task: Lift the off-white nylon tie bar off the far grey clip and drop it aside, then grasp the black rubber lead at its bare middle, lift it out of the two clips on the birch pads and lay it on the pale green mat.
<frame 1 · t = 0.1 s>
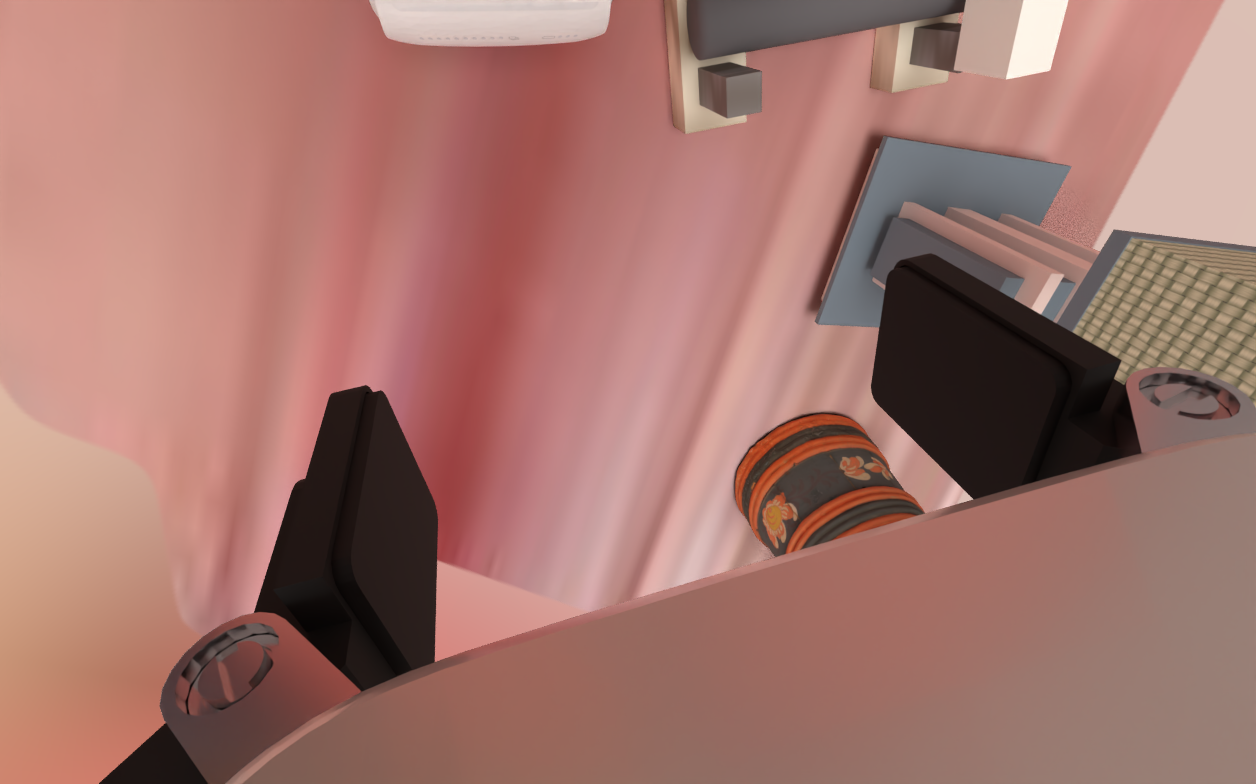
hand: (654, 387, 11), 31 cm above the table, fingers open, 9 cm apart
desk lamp: (919, 235, 48), on the table
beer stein: (793, 484, 62), on the table
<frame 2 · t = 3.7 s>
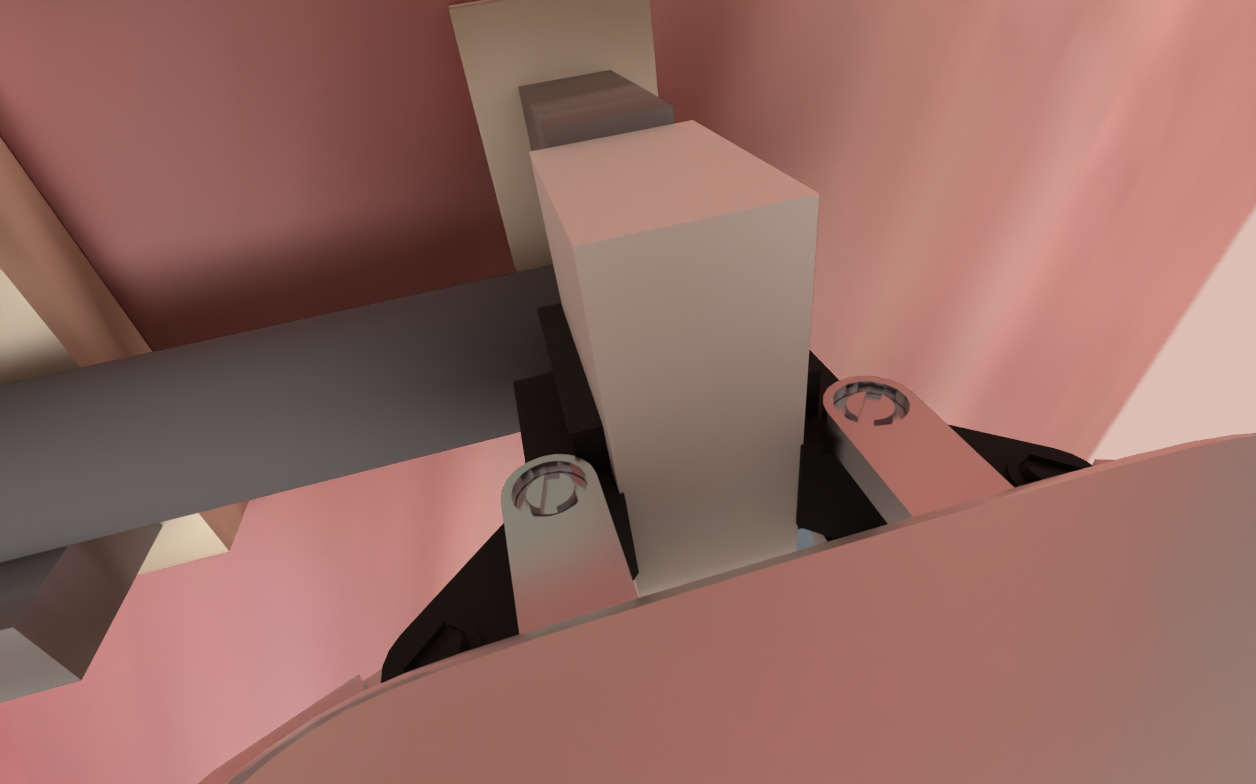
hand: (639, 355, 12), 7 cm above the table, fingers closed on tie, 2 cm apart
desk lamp: (725, 577, 29), on the table
clamp board: (332, 292, 16), on the table
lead: (315, 338, 14), point 3 cm above the table, tilted 22°, touching clamp board
tie: (642, 366, 12), point 7 cm above the table, touching clamp board, gripper
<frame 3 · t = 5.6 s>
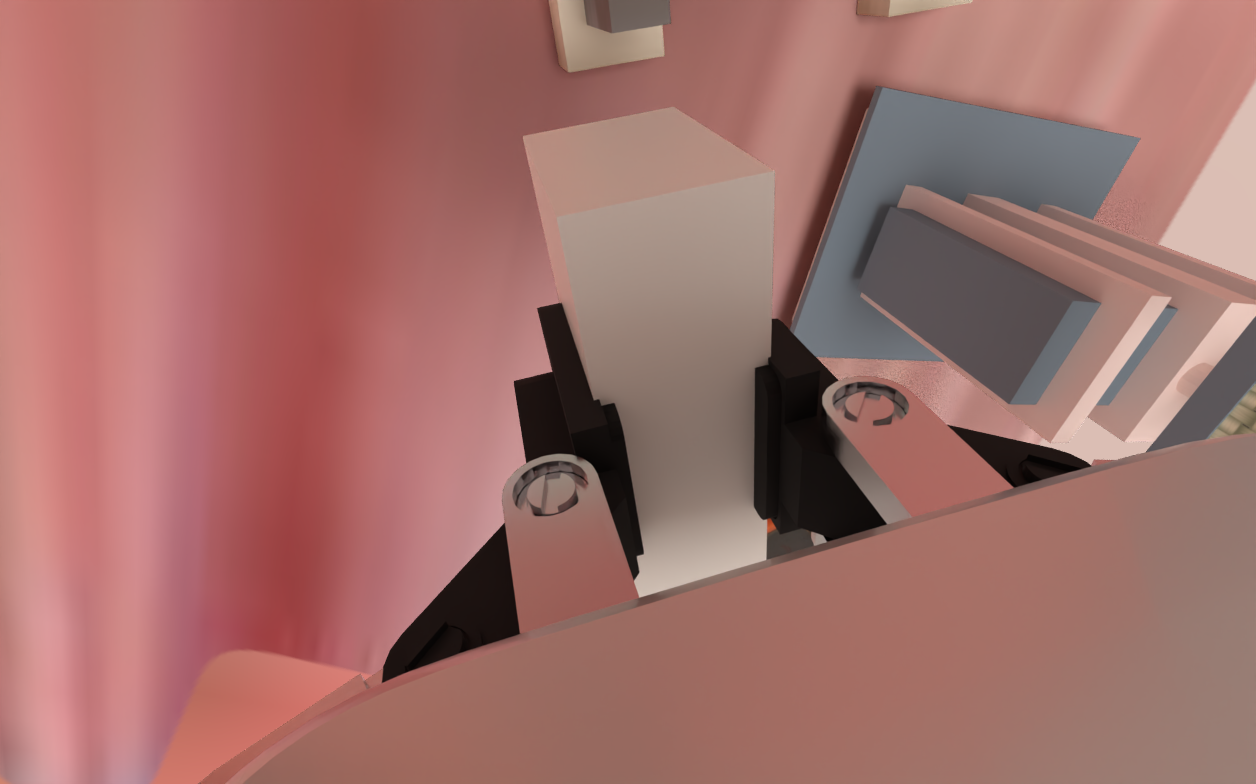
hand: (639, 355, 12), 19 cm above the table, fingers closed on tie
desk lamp: (925, 234, 35), on the table
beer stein: (762, 549, 49), on the table
tie: (630, 338, 13), point 18 cm above the table, touching gripper
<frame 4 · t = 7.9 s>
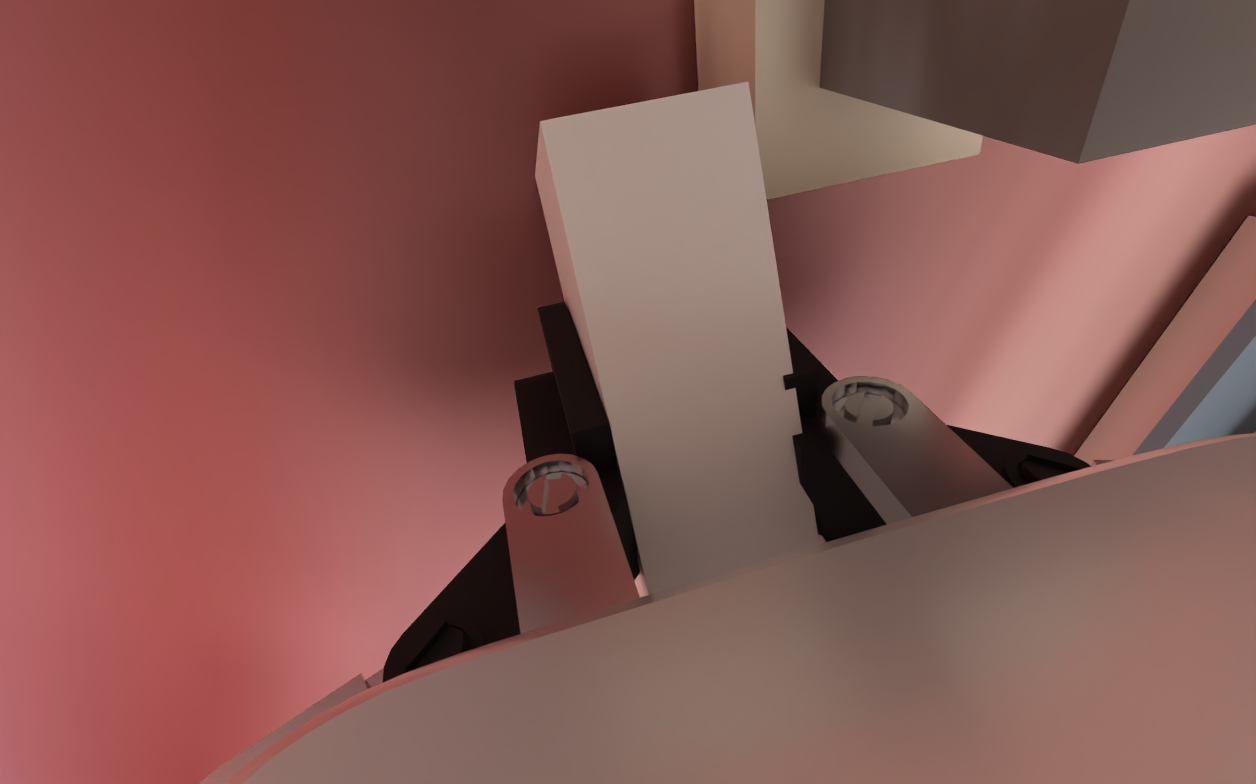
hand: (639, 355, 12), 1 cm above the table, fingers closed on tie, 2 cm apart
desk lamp: (1251, 399, 21), on the table
tie: (650, 384, 12), point 2 cm above the table, tilted 23°, touching gripper
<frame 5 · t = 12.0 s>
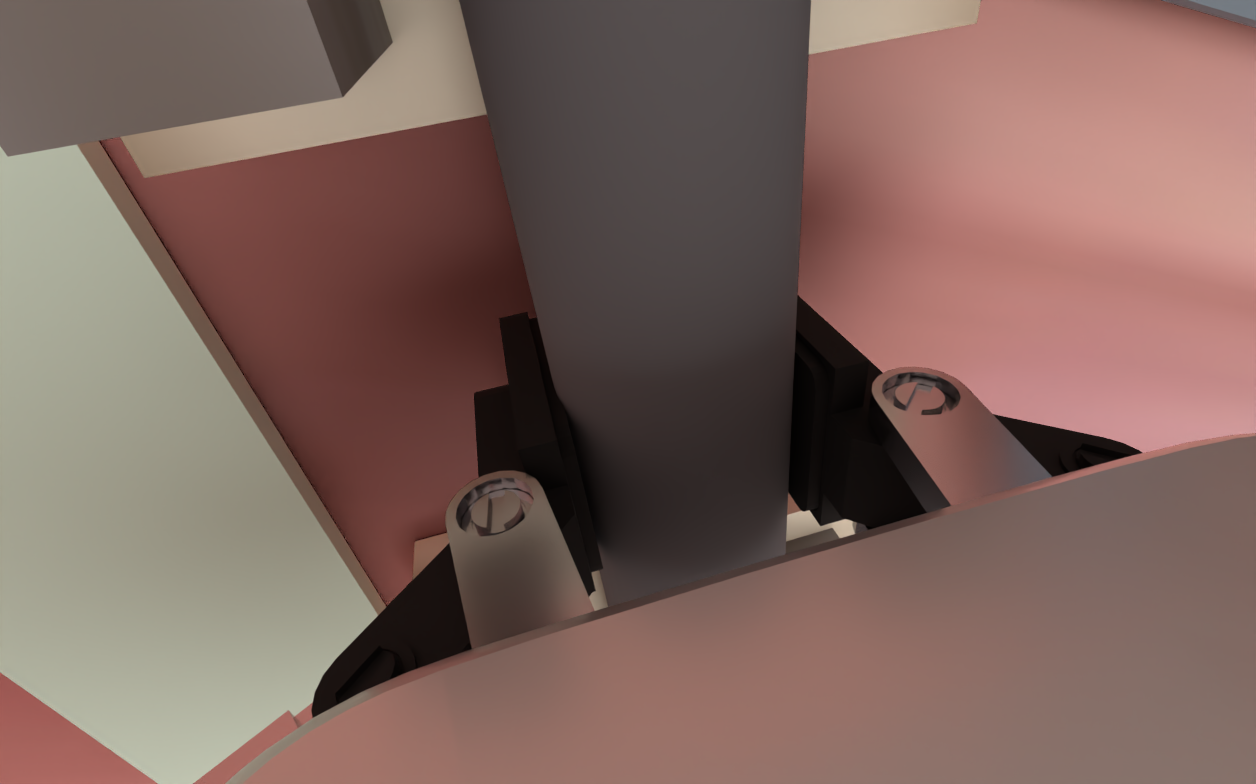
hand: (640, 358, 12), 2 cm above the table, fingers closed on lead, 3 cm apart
clamp board: (609, 321, 13), on the table
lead: (638, 381, 11), point 3 cm above the table, tilted 7°, touching clamp board, gripper
mat: (191, 602, 15), on the table
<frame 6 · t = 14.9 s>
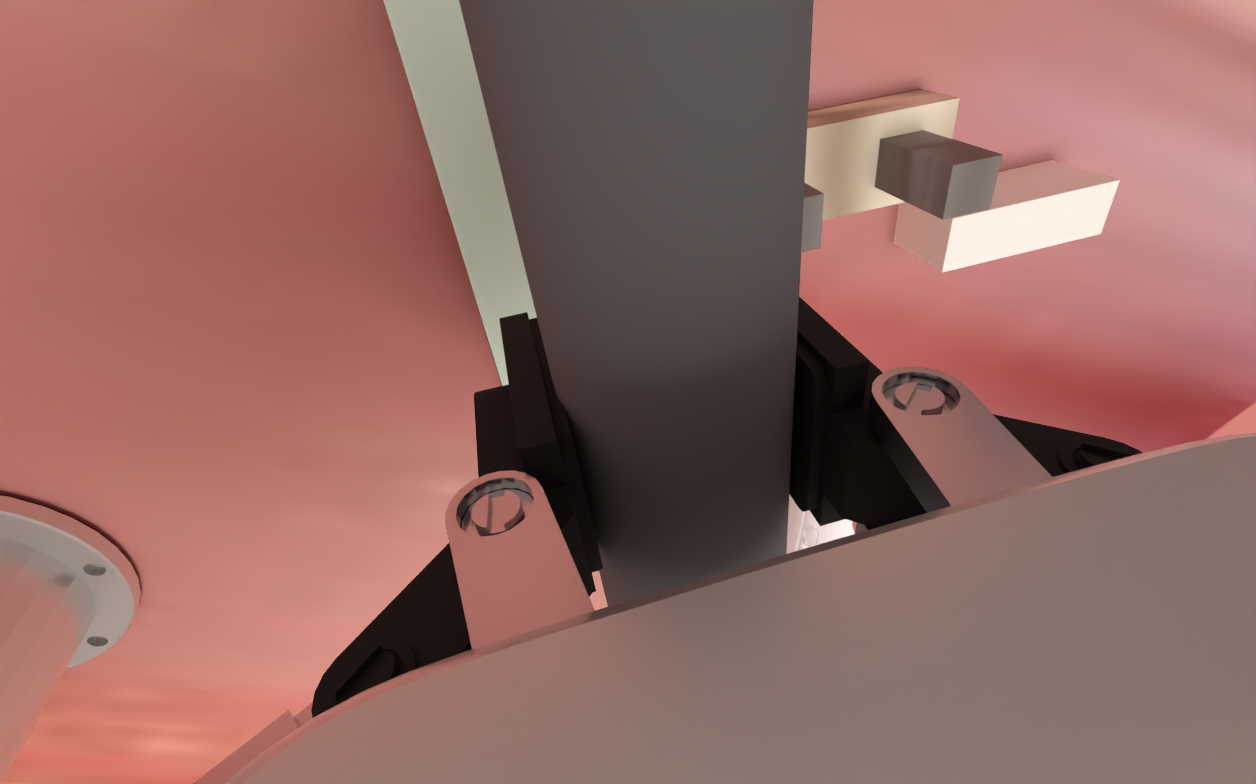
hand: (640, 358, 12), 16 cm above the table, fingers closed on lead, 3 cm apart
photo printer: (736, 385, 34), on the table
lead: (639, 382, 11), point 17 cm above the table, tilted 7°, touching gripper
tie: (970, 201, 31), on the table
mat: (538, 165, 25), on the table
when the fingers open (1 cm above the table, at t = 17.6 s): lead drops 1 cm, resting on mat.
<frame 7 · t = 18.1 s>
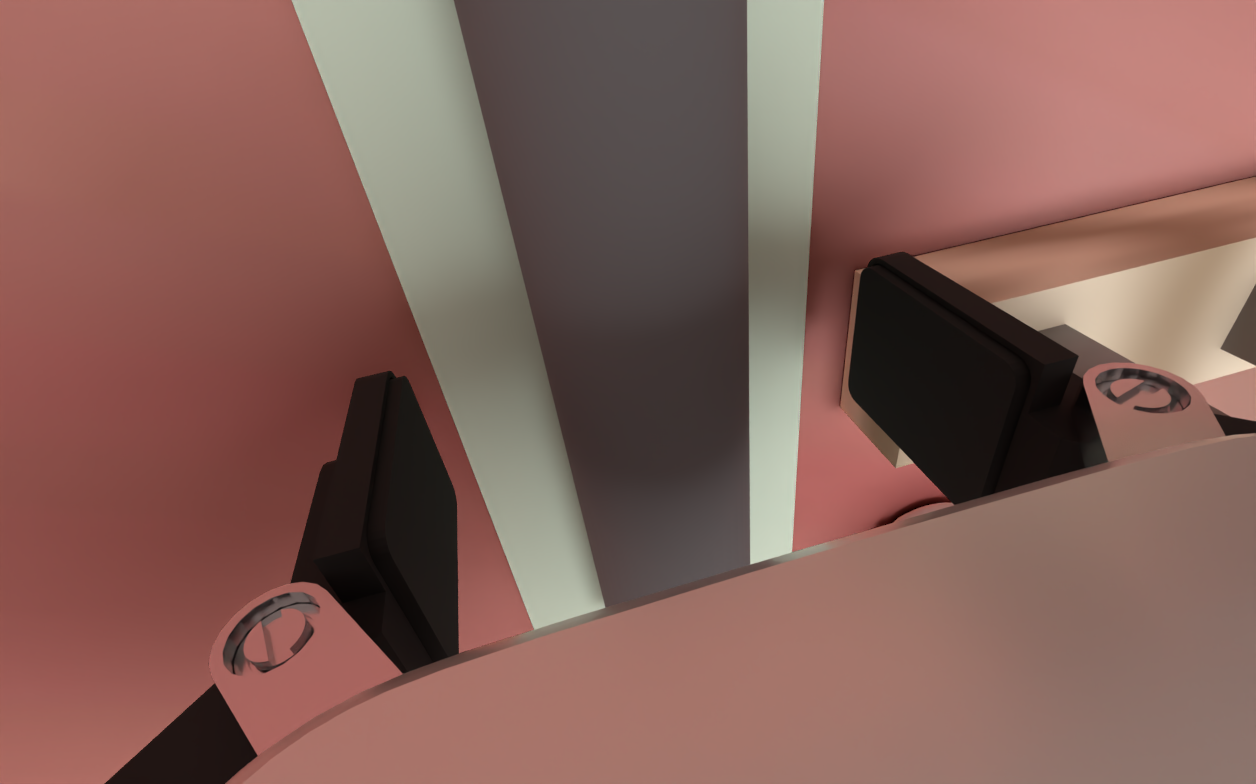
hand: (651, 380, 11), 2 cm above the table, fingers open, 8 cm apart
photo printer: (887, 591, 22), on the table
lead: (617, 344, 13), point 1 cm above the table, tilted 7°, touching mat
mat: (623, 324, 13), on the table
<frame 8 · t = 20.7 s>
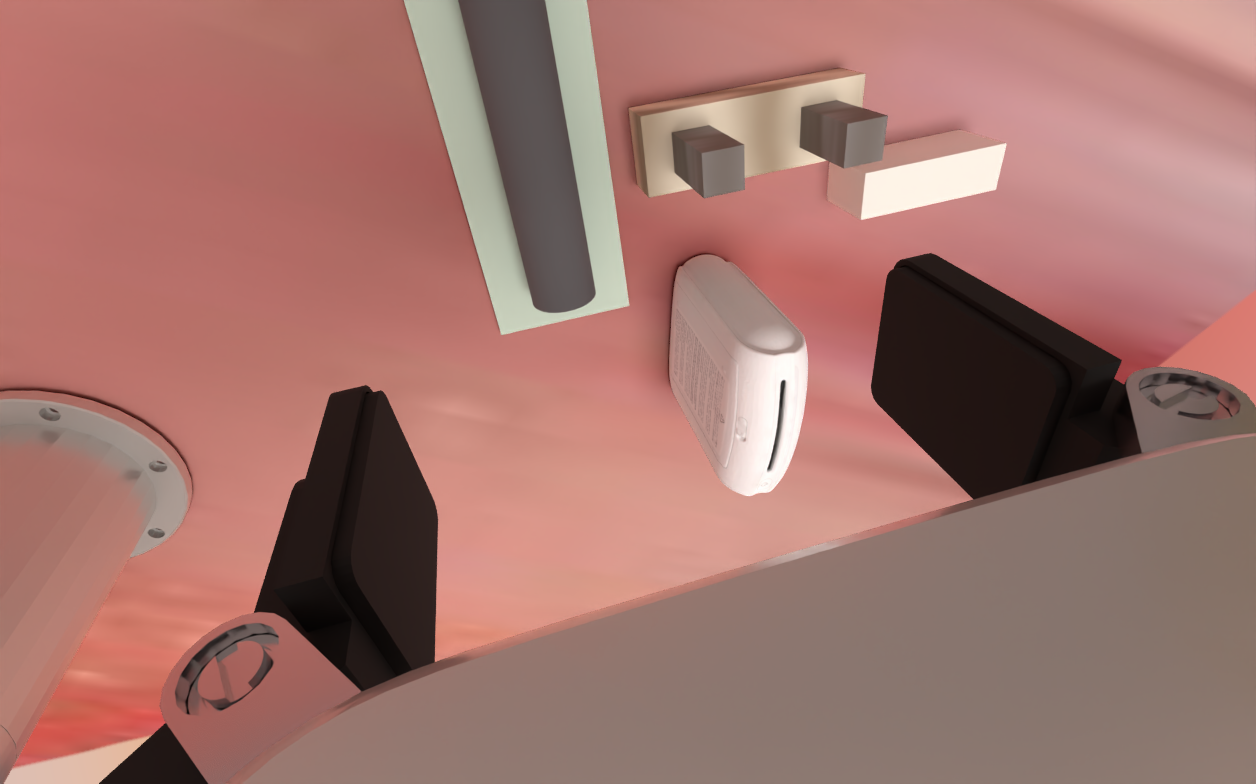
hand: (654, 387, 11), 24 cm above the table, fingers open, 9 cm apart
photo printer: (696, 324, 40), on the table
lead: (520, 132, 30), point 1 cm above the table, tilted 11°, touching mat
tie: (891, 164, 37), on the table
mat: (524, 127, 30), on the table
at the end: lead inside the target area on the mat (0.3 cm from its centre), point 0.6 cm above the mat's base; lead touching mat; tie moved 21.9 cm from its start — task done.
